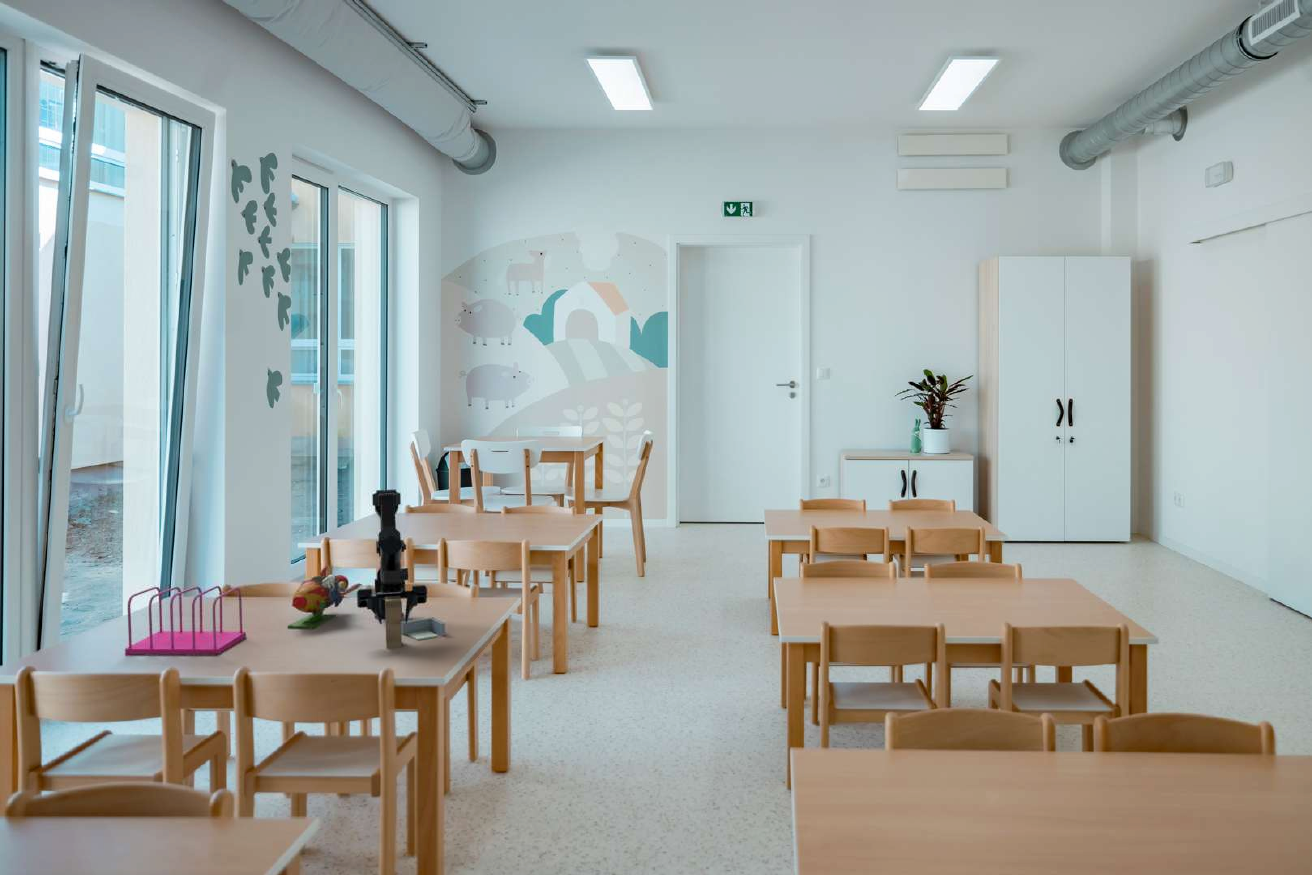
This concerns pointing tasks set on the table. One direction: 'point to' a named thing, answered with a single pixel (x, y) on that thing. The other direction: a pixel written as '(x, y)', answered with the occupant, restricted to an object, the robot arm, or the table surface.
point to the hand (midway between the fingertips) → (393, 622)
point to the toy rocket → (317, 600)
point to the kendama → (343, 581)
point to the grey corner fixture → (423, 628)
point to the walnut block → (393, 621)
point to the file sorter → (185, 639)
